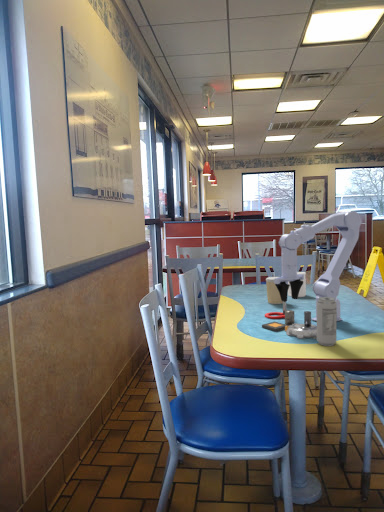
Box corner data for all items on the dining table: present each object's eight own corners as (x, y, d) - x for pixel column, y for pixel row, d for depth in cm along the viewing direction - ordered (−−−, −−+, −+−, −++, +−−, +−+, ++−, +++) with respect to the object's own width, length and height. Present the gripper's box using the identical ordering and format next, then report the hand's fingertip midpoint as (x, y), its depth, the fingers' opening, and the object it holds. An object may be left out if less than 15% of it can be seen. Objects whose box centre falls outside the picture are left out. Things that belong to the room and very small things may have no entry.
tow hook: (264, 320, 152) (287, 319, 150) (262, 289, 151) (285, 288, 149) (265, 314, 161) (287, 314, 159) (263, 285, 160) (285, 284, 157)
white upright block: (304, 293, 199) (304, 271, 198) (307, 297, 190) (307, 274, 189) (287, 293, 200) (287, 271, 199) (289, 297, 191) (289, 274, 190)
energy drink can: (331, 340, 124) (331, 296, 122) (339, 346, 118) (339, 300, 116) (314, 340, 124) (313, 296, 122) (320, 347, 118) (320, 300, 116)
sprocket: (328, 329, 135) (328, 312, 134) (321, 341, 123) (321, 322, 123) (290, 325, 142) (290, 308, 141) (280, 335, 130) (280, 317, 129)
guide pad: (274, 323, 145) (274, 321, 144) (288, 327, 139) (288, 325, 139) (261, 327, 141) (261, 324, 141) (275, 331, 135) (275, 328, 135)
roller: (289, 322, 147) (289, 309, 146) (296, 324, 144) (296, 311, 143) (283, 323, 145) (282, 311, 144) (290, 325, 142) (290, 313, 141)
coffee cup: (284, 300, 185) (283, 276, 184) (287, 304, 176) (286, 279, 175) (265, 300, 186) (264, 276, 185) (267, 304, 177) (266, 279, 176)
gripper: (284, 268, 135) (284, 304, 136) (310, 264, 143) (310, 298, 144) (269, 266, 140) (270, 301, 142) (295, 262, 148) (295, 296, 150)
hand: (289, 300), depth 143 cm, fingers open, 5 cm apart
